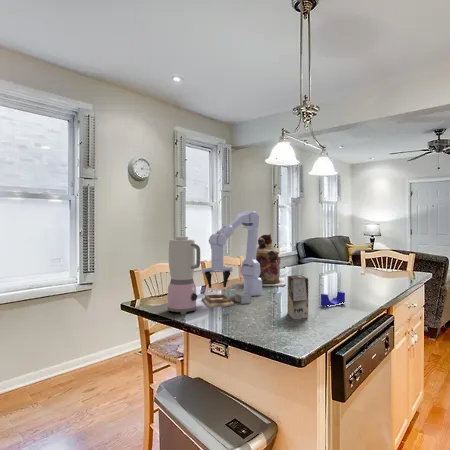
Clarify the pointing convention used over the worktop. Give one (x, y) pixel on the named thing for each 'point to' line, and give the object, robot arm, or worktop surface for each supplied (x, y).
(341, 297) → the cable clip
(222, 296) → the tray
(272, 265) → the cookie jar
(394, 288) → the worktop surface
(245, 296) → the block
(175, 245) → the blender
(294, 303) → the coffee box
